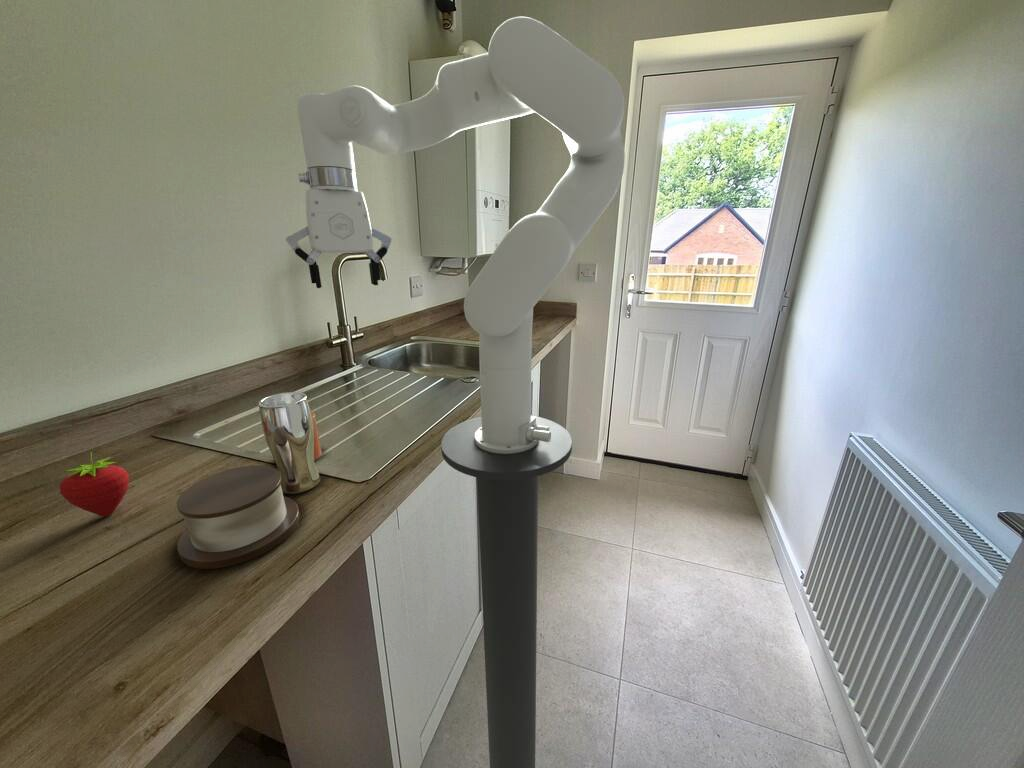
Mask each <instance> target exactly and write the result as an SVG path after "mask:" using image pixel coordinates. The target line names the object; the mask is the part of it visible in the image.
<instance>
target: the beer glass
mask: <svg viewBox="0 0 1024 768" xmlns="http://www.w3.org/2000/svg"><path fill="white" fill-rule="evenodd" d="M307 397H308V395H307V394H306V393H304V392H300V391H288V392H279V393H275V394H272V395H268V396H266V397H264V398H262V399H260V400H259V401H258V409H259V417H260V422H261V428H262V432H263V436H264V439H265V441H266V445H267V446H268V448H269V451H270V453H271V455H272V457H273V460H274V462H275V464H276V467H277V470H279V472H280V473H281V476H282V482H281V488H282V492H283V494H286V495H296V494H301V493H305V492H308V491H310V490H311V489H312V490H313V489H314V488H315V487H316V486H318V484H319V483H320V482H321V475H320V473H319V470H318V468H317V466H316V463H315V461H314V427H313V420H312V415H311V411H312V410H311V408H310V404H309V401H308V398H307Z"/></svg>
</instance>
